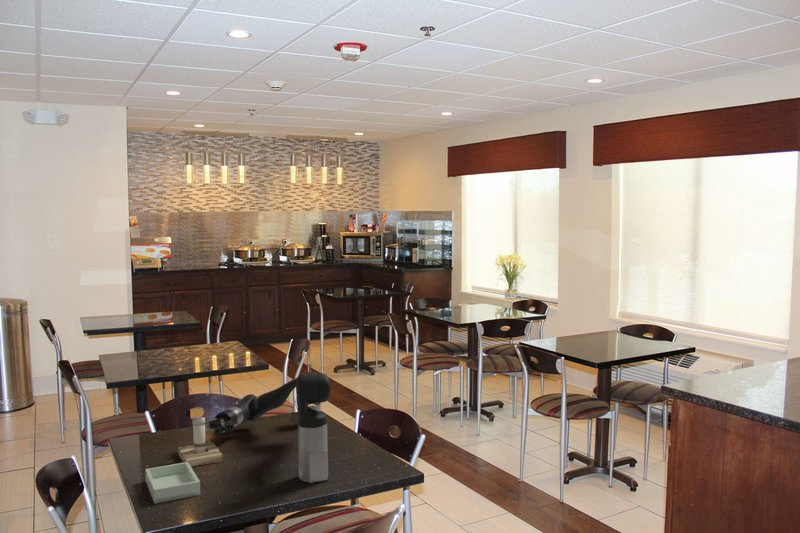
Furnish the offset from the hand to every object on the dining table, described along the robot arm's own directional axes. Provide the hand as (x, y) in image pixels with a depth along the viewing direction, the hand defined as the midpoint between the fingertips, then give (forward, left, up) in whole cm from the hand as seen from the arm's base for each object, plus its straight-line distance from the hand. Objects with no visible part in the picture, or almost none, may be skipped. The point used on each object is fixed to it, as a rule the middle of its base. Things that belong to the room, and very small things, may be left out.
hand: (204, 431), depth 231 cm
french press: (+18, -46, -9) cm, 50 cm away
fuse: (-2, +2, -9) cm, 9 cm away
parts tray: (-26, +15, -9) cm, 32 cm away
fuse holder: (-2, +2, -9) cm, 9 cm away
